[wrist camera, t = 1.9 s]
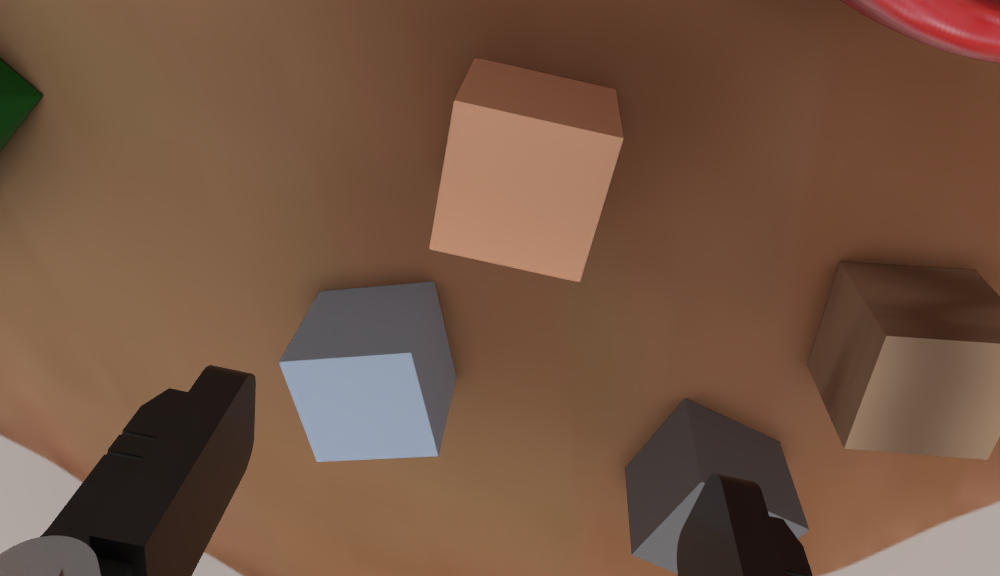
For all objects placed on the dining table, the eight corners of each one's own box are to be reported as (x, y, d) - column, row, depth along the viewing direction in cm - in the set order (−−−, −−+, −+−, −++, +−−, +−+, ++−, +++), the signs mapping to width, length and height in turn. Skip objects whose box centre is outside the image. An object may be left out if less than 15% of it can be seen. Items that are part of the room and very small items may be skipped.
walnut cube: (974, 268, 28) (1046, 347, 23) (929, 372, 30) (987, 460, 26) (838, 260, 28) (886, 335, 24) (806, 363, 31) (844, 448, 26)
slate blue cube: (434, 280, 30) (411, 352, 26) (456, 375, 33) (438, 456, 28) (320, 290, 31) (278, 361, 27) (350, 382, 33) (316, 461, 29)
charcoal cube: (779, 440, 33) (809, 529, 29) (713, 506, 35) (732, 596, 31) (685, 396, 32) (701, 481, 28) (624, 466, 35) (631, 554, 30)
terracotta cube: (615, 88, 25) (623, 138, 21) (579, 215, 28) (579, 282, 24) (474, 56, 25) (454, 100, 21) (451, 187, 28) (429, 249, 23)
